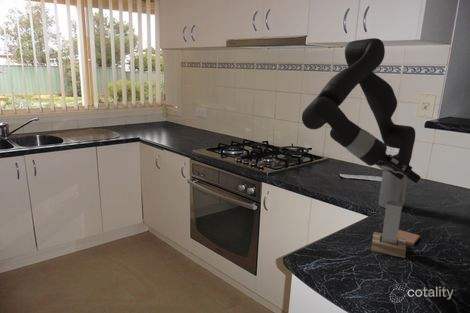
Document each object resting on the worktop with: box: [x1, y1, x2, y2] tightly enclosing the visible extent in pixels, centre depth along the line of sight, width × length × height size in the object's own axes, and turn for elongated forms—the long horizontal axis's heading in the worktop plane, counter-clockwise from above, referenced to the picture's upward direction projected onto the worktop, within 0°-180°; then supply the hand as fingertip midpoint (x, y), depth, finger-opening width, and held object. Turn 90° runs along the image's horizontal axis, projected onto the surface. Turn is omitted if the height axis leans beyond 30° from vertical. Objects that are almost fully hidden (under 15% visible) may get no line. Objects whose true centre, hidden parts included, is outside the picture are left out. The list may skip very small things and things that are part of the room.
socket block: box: [370, 231, 407, 259], centre depth 106 cm, size 9×9×2 cm
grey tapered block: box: [381, 201, 403, 245], centre depth 105 cm, size 4×4×14 cm
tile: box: [398, 229, 420, 246], centre depth 114 cm, size 8×8×1 cm
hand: (410, 178), depth 102 cm, fingers open, 8 cm apart
